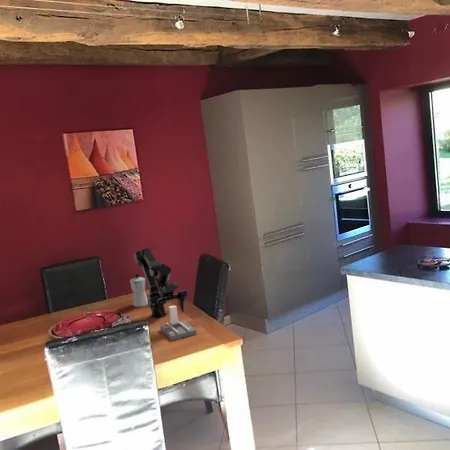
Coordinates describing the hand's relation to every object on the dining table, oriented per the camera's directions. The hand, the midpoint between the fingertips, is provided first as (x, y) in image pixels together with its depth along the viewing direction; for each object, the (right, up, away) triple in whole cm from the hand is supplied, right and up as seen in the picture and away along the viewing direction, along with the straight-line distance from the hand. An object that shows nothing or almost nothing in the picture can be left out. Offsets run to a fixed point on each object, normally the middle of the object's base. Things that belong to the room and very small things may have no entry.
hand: (174, 314), depth 235 cm
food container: (-22, -11, -4) cm, 25 cm away
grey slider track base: (+2, -8, -2) cm, 8 cm away
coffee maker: (-23, -3, +47) cm, 53 cm away
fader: (0, -5, +2) cm, 5 cm away
